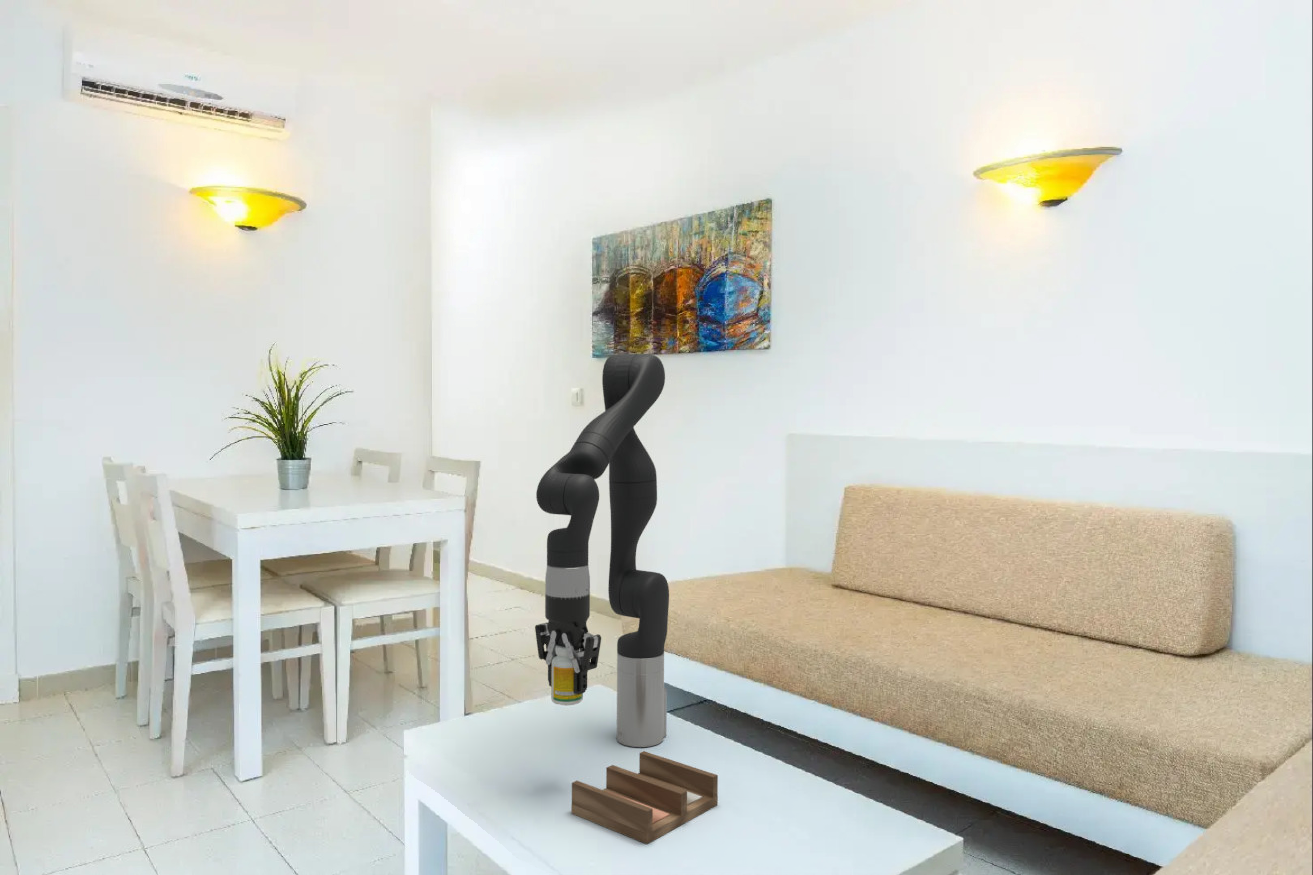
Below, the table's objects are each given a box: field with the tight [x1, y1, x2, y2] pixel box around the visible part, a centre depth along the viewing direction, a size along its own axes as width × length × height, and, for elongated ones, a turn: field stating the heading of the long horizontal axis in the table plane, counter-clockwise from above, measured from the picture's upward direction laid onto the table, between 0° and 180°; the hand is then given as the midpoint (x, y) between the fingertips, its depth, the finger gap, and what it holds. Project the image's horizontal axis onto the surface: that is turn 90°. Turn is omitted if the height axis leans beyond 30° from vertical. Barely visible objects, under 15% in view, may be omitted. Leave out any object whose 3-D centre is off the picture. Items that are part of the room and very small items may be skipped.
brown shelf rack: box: [570, 750, 719, 845], centre depth 154 cm, size 18×16×5 cm
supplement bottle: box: [550, 645, 584, 706], centre depth 160 cm, size 5×5×10 cm
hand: (567, 689), depth 160 cm, fingers closed on supplement bottle, 5 cm apart
